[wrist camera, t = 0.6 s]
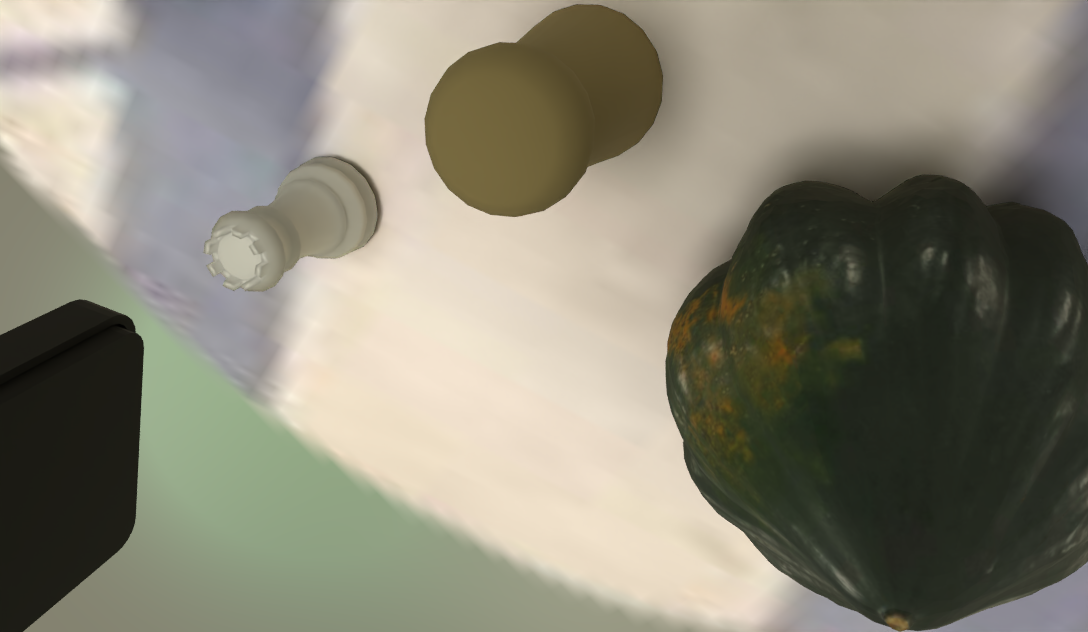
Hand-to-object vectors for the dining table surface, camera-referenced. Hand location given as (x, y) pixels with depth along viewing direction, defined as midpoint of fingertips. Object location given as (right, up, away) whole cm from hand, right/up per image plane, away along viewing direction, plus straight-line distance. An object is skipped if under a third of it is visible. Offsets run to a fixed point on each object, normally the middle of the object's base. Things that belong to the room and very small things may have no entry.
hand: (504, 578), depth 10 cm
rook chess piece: (-9, +8, +32) cm, 34 cm away
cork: (+2, +12, +27) cm, 29 cm away
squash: (+14, +2, +27) cm, 30 cm away
